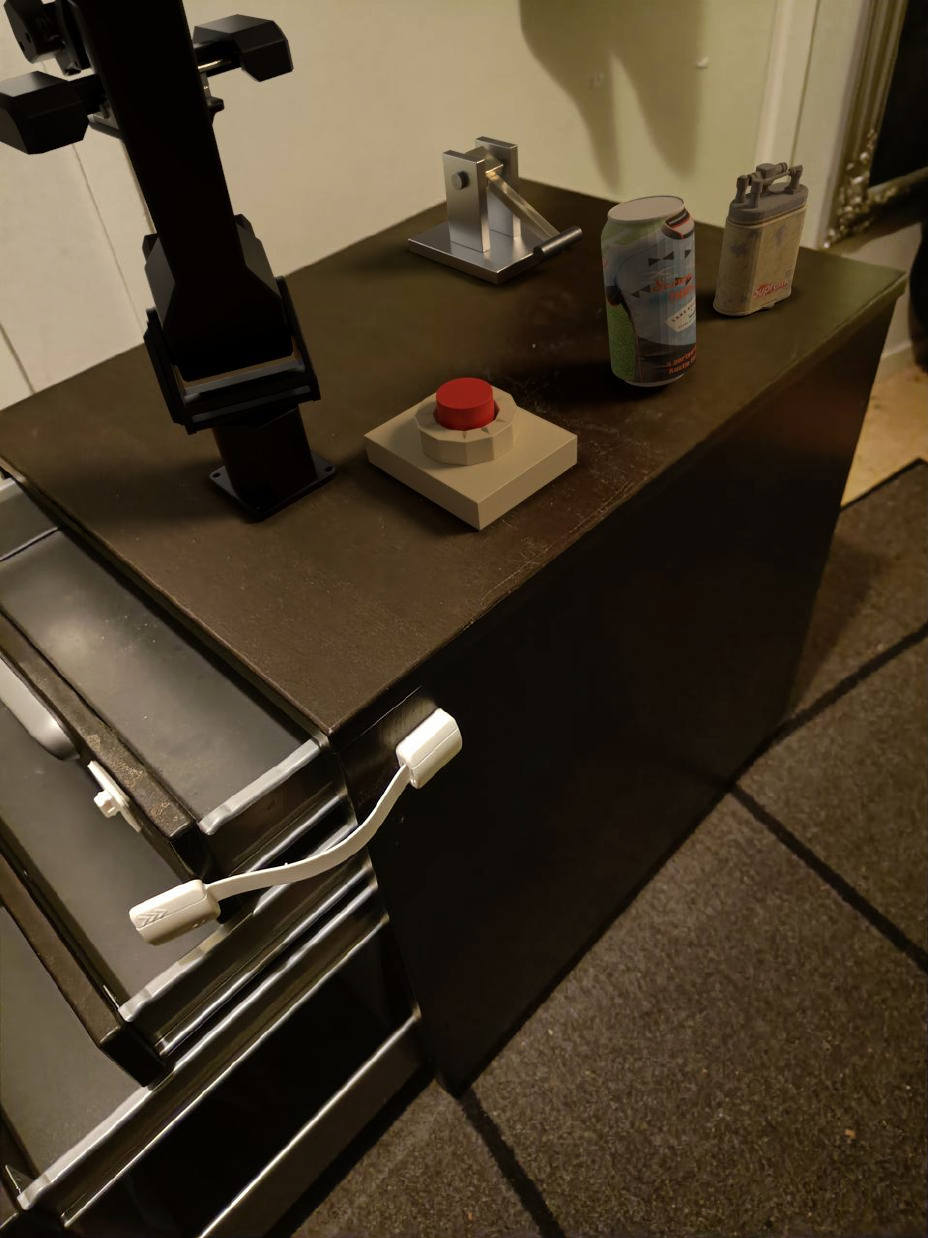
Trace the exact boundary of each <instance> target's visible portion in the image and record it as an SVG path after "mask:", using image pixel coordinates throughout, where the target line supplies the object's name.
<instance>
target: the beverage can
mask: <svg viewBox="0 0 928 1238" xmlns="http://www.w3.org/2000/svg"><path fill="white" fill-rule="evenodd" d="M695 242H696V241H695V221H694V218H693V216H692V215H691V213H689V211H688V209H687V208H686V202H685V200H684V198H682V197H680V196H677V195H670V194H669V195H668V194H662V195H661V194H660V195H658V194H657V195H649V196H641V197H637V198H632V199H630V200H627V201H624V202H621V203H619V204H617V205H615V206H613V207H611V208H610V209H609V210H608V212H607V221H606V223H605V225H604V227H603V229H602V231H601V235H600V246H601V259H602V267H603V268H602V270H603V271H602V272H603V281H604V284H603V285H604V293H605V295H604V296H605V307H606V319H607V330H608V343H609V353H610V354H609V355H610V366H611V372H612V374H613V375H614V376H616V377H617V378H619V379H621V380H623V381H625V382H626V383H627V384H630V385H632V386H637V387H642V388H643V387H646V388H647V387H651V388H652V387H658V386H664V385H668V384H671V383H674V382H675V381H677V380H678V379H680V378H681V377H683V376H684V375H685V373H688V371H690V370H691V369H692V368H693V367H694V366H695V364H696V362H697V322H696V321H697V320H696V318H697V314H696V313H697V312H696V254H695V253H696V251H695V249H696V248H695V247H696V246H695V244H696V243H695Z"/></svg>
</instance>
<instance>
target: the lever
mask: <svg viewBox="0 0 928 1238" xmlns="http://www.w3.org/2000/svg"><path fill="white" fill-rule="evenodd" d="M464 154H467V155H471V156H474V157H478V158H481V159H484V160H485V174H486V190H487V193H488V192H491V193H492V194H493V195H495V196H496V197H497V198H498V199H499V200H500V201H501V202H502V203H503V204H504V205H505V206H506V207H507V208H508V209H509V210H510V211H511V212H512V213H513V214H515V215H516V216H517V217H518V218H519V219H520V222H522V223H524V224H525V225H526V226H527V227H528V228H529V229H530V230H531V231H532V232H534V233H535V234H536V235H537V236H538V237H539V238H540V239H541V240H542V241H543V242H542V243H540V244H538V245H536V246H535V247H534V248H533V256H534V258H535V259H536V260H537V261H539V262H540V263H542V262H544V261H546V260H548V259H549V258H551V257H553V256H555V255H557V254H559V253H561V252H562V250H563V251H564V249H565V250H566V249H568V248H569V247H571V246H574V245H576V244H577V243H579V242H581V241H582V239H583V231H582V229H581V227H580V226H578V225H573V226H572V227H569V228H567V229H566V230H564V231H561V232H559V231H558V230H557V229H556V228H555V227H554V226H553V225H551V223H550V222H548V221H547V220H546V218H544V217H543V216H542V215H541V214H540V213H539V212H538V211H537V210H536V209H535V208H533V206H532V205H530V203H528V202H527V201H526V200H525V199H524V197H522V196H521V195H520V193H519V194H517V193H516V192H515V191H514V190H513V189H512V188H511V187H510V186H509V185H508V184H507V183H506V182H505V181H504V180H503V179H502V178H500V175H501V172H502V168H503V164H502V163H501V162H500V161H499V160H498V159H496V158H495V157H494V156H493V155H492V154H491V153H490V152H489V151H488V150H487V149H486V148H485V147H484V146H480V147H477V148H475V147H474V148H473V149H470V150H468V151H466V152H464ZM560 251H561V252H560ZM558 252H559V253H558ZM556 253H557V254H556ZM554 254H555V255H554ZM547 258H548V259H547ZM545 259H546V260H545ZM543 260H544V261H543ZM541 261H542V262H541Z"/></svg>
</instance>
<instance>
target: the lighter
mask: <svg viewBox="0 0 928 1238" xmlns="http://www.w3.org/2000/svg"><path fill="white" fill-rule="evenodd" d="M803 172H804V167H803V164H798V165H795V166H791V167H789V165H788V163H787V162H786V161H785V162H779V163H776V164H774V163H770V162H764V163H763V162H762V163H760V164H758V165H757V166H755V172H751V173H748V174H741V175H739V176H738V177H737V178H736V183H735V184H736V185H735V187H736V194H735V197H734V198H733V199H732V201H731V202H730V203H729V206H728V214H727V216H726V218H725V222H724V229H723V236H722V237H723V238H722V243H721V252H720V257H719V266H718V274H717V281H716V288H715V295H714V296H715V297H714V300H713V303H712V307H713V309H714V310H715V311H716V312H717V313H720V314H723V315H726V316H732V317H733V316H735V317H738V316H739V317H740V316H741V317H742V316H747V315H750V314H753V313H754V312H757V311H759V310H768V309H771V308H773V307H774V306H775V303H778V302H780V301H782V300H785V299H787V298H789V297H790V296H791V293H792V283H793V278H794V273H795V270H796V264H797V261H798V260H797V258H798V255H799V250H800V246H801V245H800V244H801V241H802V236H803V230H804V226H805V221H806V220H805V219H806V216H807V210H808V204H807V202H808V196H809V188H808V187H807V186H806V185H805V184H803V183H800V181H801V178H802V175H803ZM786 176H788V177H790V181H782V182H775V181H776V180H778V179H781V178H784V177H786ZM774 182H775V183H774ZM749 187H750V190H749V192H748V193H747V189H748V188H749Z"/></svg>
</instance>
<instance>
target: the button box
mask: <svg viewBox="0 0 928 1238" xmlns="http://www.w3.org/2000/svg"><path fill="white" fill-rule="evenodd" d="M491 387H492V389H493V401H494V418H493V420H492V422H491V423H489V424H487V425H486V426H484V427H482V428H478V429H473V430H468V431H456V430H448V429H446V428H445V427H443V426H442V425H441V424H440V422H439V418H438V410H437V402H436V392H434V393H433V394H431V395H429V396H427V397H426V398H424V399H423V400H422V401H420V402H418V403H416V404H415V405H412V407H410V408H408V409H406V410H405V411H403V412H401V413H400V414H397V415H396V416H395V417H393V418H391V419H389V420H388V421H386V422H384V423H383V424H380V425H379V426H377V427H376V428H373V429H372V430H370V431H368V432H367V433H365V434H364V435H363V439H364V444H365V448H366V453H367V459H368V462H369V463H370V464H372V465H373V466H375V467H376V468H379V469H380V470H382V471H383V472H385V473H386V474H387V475H390V476H391V477H393V478H395V479H396V480H398V481H399V482H401V483H403V484H404V485H405V486H407V487H409V488H411V489H412V490H414V491H415V492H417V493H418V494H420V495H422V496H423V497H425V498H427V499H428V500H430V501H431V502H433V503H434V504H436V505H438V506H439V507H441V508H443V509H444V510H445V511H447V512H448V513H451V514H452V515H454V516H455V517H457V518H458V519H460V520H462V521H463V522H465V523H466V524H469V525H470V526H471V527H473V528H474V529H476V530H478V531H482V530H484V529H485V528H486V527H487V526H489V525H491V524H492V523H493V522H495V521H497V520H498V519H499V518H500V517H502V516H504V515H505V514H506V513H508V512H509V511H511V510H512V509H513V508H515V507H516V506H518V505H520V503H522V502H523V501H525V500H526V499H528V498H529V497H531V496H532V495H533V494H535V493H536V492H538V490H540V489H542V488H543V487H545V486H546V485H548V484H549V483H550V482H552V481H553V480H555V479H556V478H558V477H559V476H561V475H562V474H563V473H565V472H566V471H568V470H570V469H571V468H572V467H574V466H575V465H576V464H578V435H577V434H575V433H572V432H570V431H568V430H566V429H564V428H563V427H561V426H558V425H556V424H554V423H552V422H550V421H548V420H547V419H544V418H542V417H540V416H538V415H536V414H534V413H532V412H530V411H528V410H526V409H524V408H522V407H519V406H517V404H516V402H515V400H514V398H513V396H512V395H511V394H510V393H508V392H506V391H504V390H502V389H500V388H497V386H496V387H495V386H494V385H491Z"/></svg>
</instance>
